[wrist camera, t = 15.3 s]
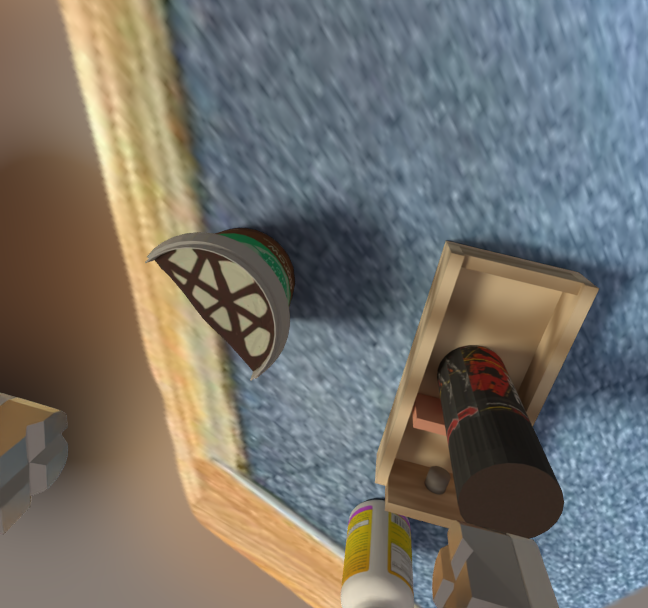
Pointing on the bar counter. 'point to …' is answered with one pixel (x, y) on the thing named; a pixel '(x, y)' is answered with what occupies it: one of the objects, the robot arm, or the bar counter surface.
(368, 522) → the supplement bottle
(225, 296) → the food container
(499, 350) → the tray
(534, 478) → the deodorant
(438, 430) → the plate
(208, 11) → the bar counter surface
